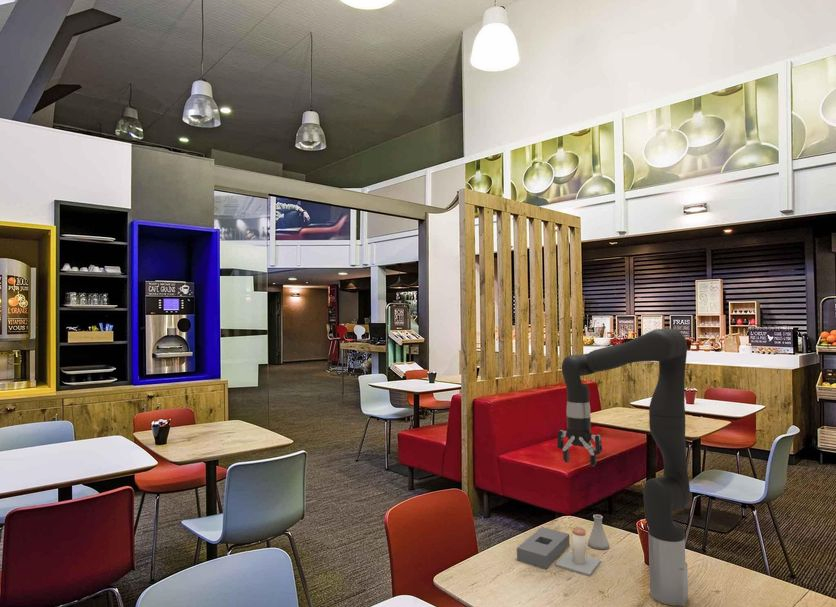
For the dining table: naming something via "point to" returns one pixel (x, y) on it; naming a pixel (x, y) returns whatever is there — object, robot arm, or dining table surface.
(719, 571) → the dining table surface
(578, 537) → the plug
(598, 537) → the flask
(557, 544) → the grey socket block
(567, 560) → the mat
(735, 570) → the dining table surface
